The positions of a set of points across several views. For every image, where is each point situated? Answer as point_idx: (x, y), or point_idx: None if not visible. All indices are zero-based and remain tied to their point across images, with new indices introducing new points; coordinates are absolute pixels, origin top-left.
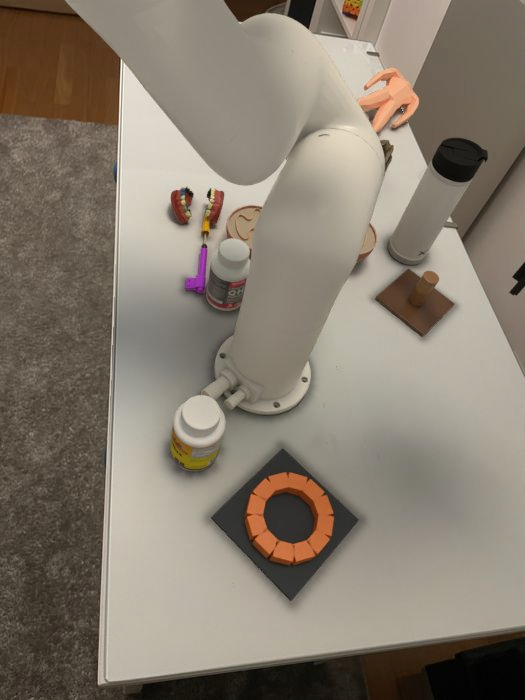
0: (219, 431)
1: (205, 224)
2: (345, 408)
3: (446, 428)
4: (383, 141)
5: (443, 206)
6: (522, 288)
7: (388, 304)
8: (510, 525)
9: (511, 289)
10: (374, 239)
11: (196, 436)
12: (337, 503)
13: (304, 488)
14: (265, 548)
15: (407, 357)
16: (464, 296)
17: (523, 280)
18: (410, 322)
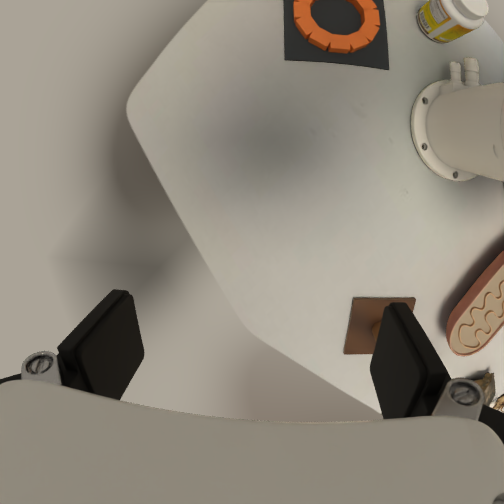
0: (448, 2)
1: None
2: (372, 154)
3: (273, 218)
4: None
5: None
6: (396, 321)
7: (401, 301)
8: (167, 175)
9: (408, 306)
10: (451, 345)
11: None
12: (311, 57)
13: (347, 38)
14: None
15: (354, 262)
16: (338, 368)
17: (416, 332)
18: (373, 301)
